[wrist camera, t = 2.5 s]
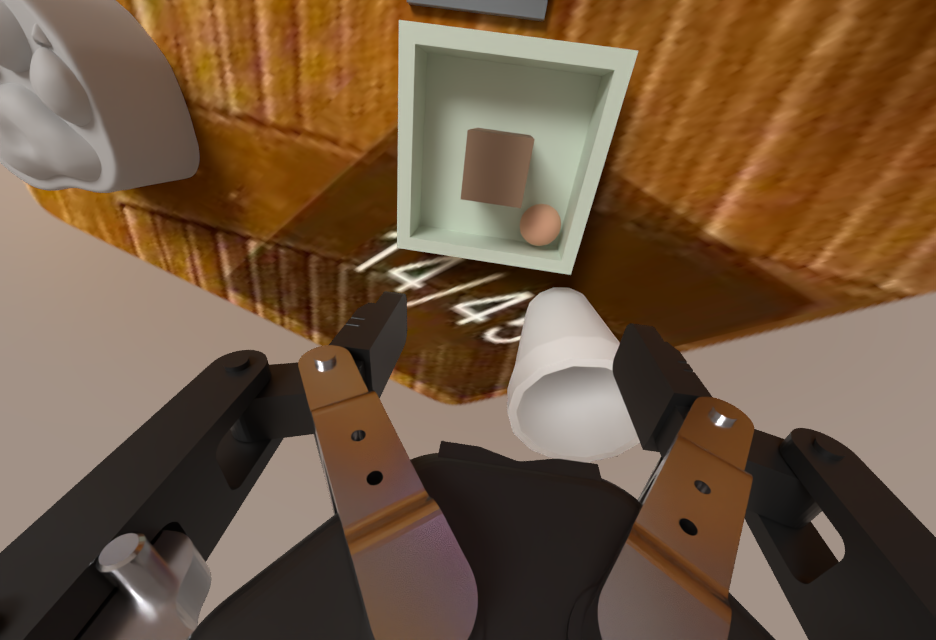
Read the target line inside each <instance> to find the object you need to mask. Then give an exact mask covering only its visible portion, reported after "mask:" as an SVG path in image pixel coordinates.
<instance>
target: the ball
mask: <svg viewBox="0 0 936 640" xmlns="http://www.w3.org/2000/svg"><path fill="white" fill-rule="evenodd" d="M560 229H561V219H560V216H559V214H558V212H557V211H556V210H555V209H554V208H553V207H551V206H550V205H546V204H536V205H534V206H531V207H530V208H528V209H527V210H526V211H525V212H524V214H523V215H522V217H521V220H520V232H521V234H522V236H523V238H524V239H525V240H526V241H527V242H528V243H530V244H532V245H535V246H543V245H547V244H549V243H551V242H552V241H553V240H554V239H555V238H556V237H557V236H558V234H559V232H560Z"/></svg>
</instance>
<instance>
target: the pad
mask: <svg viewBox="0 0 936 640" xmlns="http://www.w3.org/2000/svg"><path fill="white" fill-rule="evenodd" d="M547 2H548V0H407V3H408V4H409V5H417V6H425V7H433V8H441V9H449V10H456V11H464V12H472V13H480V14H488V15H496V16H504V17H512V18H520V19H528V20H535V21H543V22H544V18H545V13H546V7H547Z"/></svg>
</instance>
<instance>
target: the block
mask: <svg viewBox="0 0 936 640" xmlns="http://www.w3.org/2000/svg"><path fill="white" fill-rule="evenodd" d="M534 140H535V139H534V138H533V137H532V136H531V135H527V134H519V133H512V132H505V131H498V130H491V129H484V128H473V129H469V130H468V131H467V141H466V151H465V160H464V170H463V180H462V190H461V199H462V200H468V201H475V202H482V203H488V204H495V205H502V206H509V207H515V208H521V206H522V201H523V196H524V191H525V186H526V180H527V175H528V170H529V165H530V160H531V155H532V150H533V145H534Z"/></svg>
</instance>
